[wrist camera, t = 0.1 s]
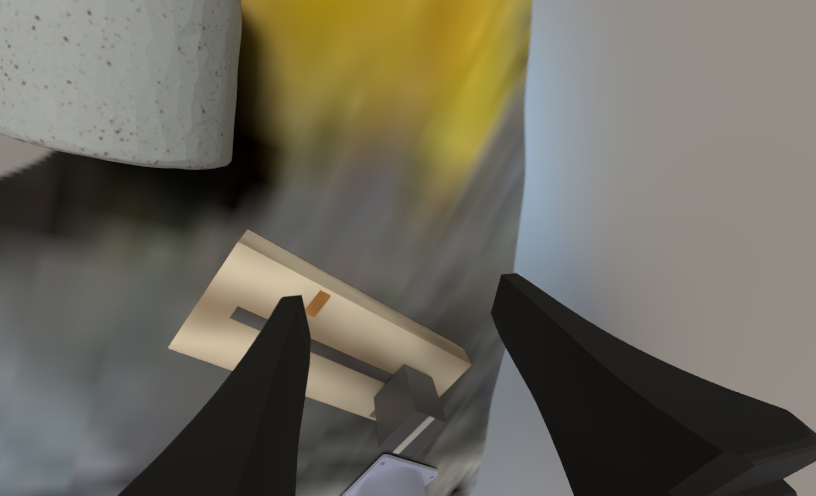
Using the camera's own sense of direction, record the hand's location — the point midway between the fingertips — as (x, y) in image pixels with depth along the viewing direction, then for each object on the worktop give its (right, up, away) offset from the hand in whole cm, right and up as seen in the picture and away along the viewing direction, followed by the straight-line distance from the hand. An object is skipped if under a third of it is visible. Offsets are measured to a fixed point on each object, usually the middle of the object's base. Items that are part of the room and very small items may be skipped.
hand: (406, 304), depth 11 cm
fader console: (-5, -5, +13) cm, 15 cm away
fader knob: (0, -9, +14) cm, 16 cm away
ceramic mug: (-13, +12, +4) cm, 18 cm away
